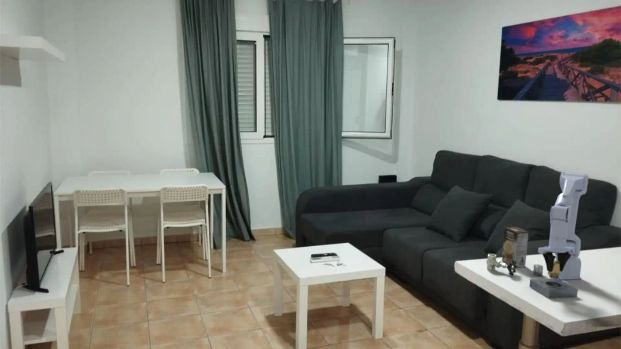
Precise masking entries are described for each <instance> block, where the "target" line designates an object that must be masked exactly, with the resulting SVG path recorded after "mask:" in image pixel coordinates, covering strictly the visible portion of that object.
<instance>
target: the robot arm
mask: <svg viewBox="0 0 621 349" xmlns="http://www.w3.org/2000/svg"><path fill="white" fill-rule="evenodd" d="M588 185H589V175H588V174H587V173H578V172H577V173H575V172H565V171H562V172H561V173H560V176H559V186H560V189H561V193H560V194H559V195H558V196H557V199H556V201H555V204H554V205H553V206H552V205H551V208H550V210H549V211H550V212H549V218H550V221H549V223H550V224H549V225H550V231H549V239H548V240H549V242H548V246H542V247H538V250H537V253H538V254H540V255H542V256H543V259H544V261H545V266H546V267H545V268H546V271H547V272H548V271H549V272H552V270H553V263H554V261H559V262H560V263H561V264H560V274H559V278H558V279H560V280H561V281H564V280H580V279H582V276H581V270H582V260H581V258H580V254H581V242H582V241H581V238H580V237H579V236H578V235H576V233H575V229H576V225H577V217H578V209H579V201H580V198H581V196H583V195H585V194H586V193H587V191H588Z"/></svg>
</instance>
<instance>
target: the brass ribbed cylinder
mask: <svg viewBox="0 0 621 349" xmlns="http://www.w3.org/2000/svg"><path fill="white" fill-rule="evenodd" d="M560 264H561V263H560V262H559V261H556V260H554V263H553V270H552V272H549V271H547V277H548V278H553V279H559V274H560Z"/></svg>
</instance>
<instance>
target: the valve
mask: <svg viewBox="0 0 621 349" xmlns="http://www.w3.org/2000/svg"><path fill="white" fill-rule="evenodd" d="M512 262H513V263H510V264H507V263H505V262H503V263H502V260H497V254H495V253H488V254H487V259H486V270H487V271H490V272H494V271H496V268H497V269H500V268H503V269H507V270H508V275H510V276H514V275H515V274H516V273H517V270H516V269H517V268H518V267H517V265H516V264H517V262H516V261H514V260H512ZM513 265H514V266H513Z"/></svg>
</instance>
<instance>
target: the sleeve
mask: <svg viewBox="0 0 621 349" xmlns="http://www.w3.org/2000/svg"><path fill="white" fill-rule="evenodd" d="M543 271H544V266H543V265H541V264H533V270H532V272H533V274H532V275H533V276H535V277H542V276H543V273H544V272H543Z"/></svg>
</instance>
